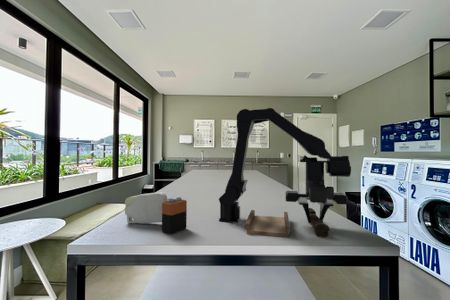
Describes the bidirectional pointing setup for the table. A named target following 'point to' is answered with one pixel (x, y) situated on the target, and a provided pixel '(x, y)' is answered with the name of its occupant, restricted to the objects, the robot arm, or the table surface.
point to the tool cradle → (267, 225)
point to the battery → (174, 215)
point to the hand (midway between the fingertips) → (314, 223)
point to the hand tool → (318, 224)
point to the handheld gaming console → (145, 208)
